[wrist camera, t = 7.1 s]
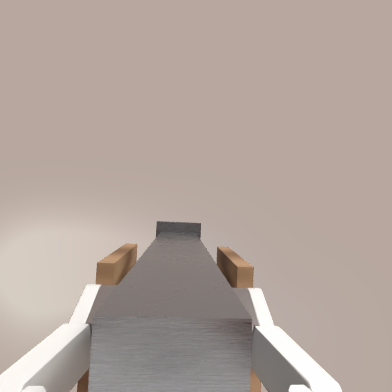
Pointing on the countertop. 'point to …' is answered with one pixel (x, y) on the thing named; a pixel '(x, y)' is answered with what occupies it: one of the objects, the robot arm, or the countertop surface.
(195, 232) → the gray rectangular bar
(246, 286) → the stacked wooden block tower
